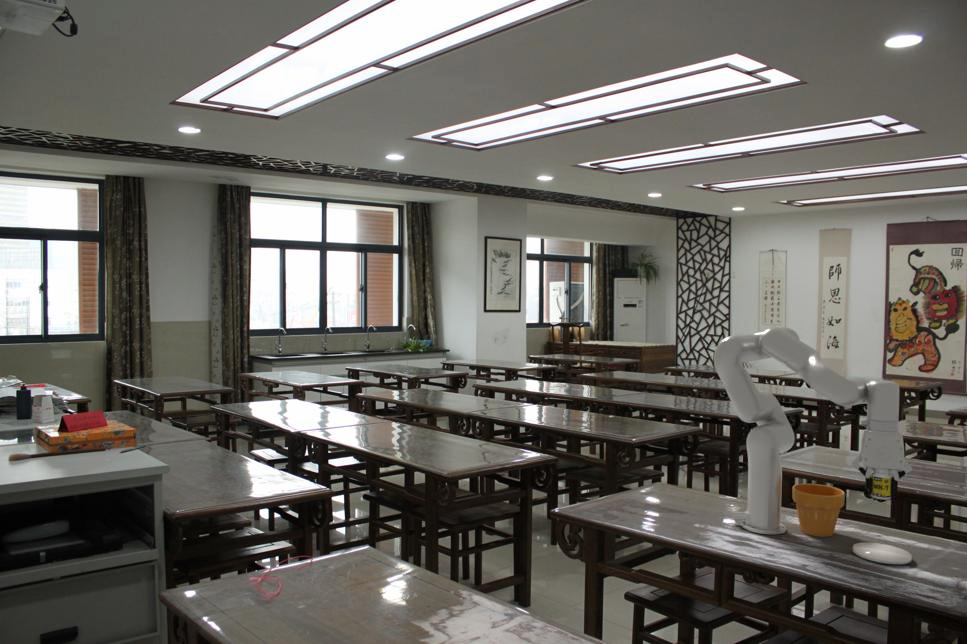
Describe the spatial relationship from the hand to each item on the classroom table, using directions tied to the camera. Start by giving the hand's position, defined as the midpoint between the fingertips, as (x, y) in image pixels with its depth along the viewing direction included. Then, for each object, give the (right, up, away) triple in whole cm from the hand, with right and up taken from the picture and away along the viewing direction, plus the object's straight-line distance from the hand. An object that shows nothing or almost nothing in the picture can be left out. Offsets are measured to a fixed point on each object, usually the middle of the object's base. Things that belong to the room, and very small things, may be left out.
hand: (881, 492), depth 195 cm
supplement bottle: (0, -2, 0) cm, 2 cm away
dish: (0, -18, +1) cm, 18 cm away
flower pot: (-8, -17, +21) cm, 28 cm away
